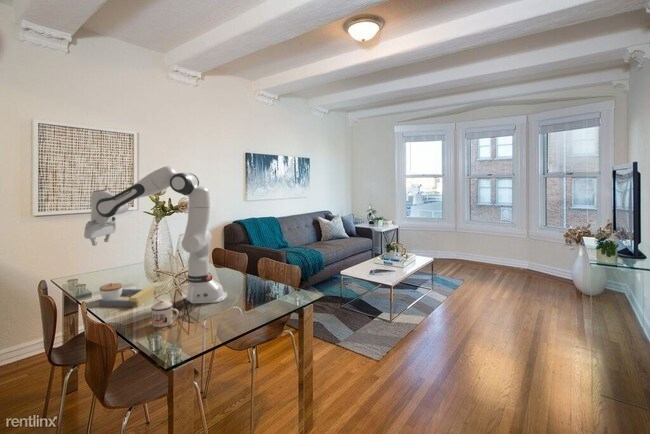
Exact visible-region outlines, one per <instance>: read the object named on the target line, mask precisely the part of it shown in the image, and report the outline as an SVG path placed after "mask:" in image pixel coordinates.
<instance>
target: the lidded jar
mask: <svg viewBox="0 0 650 434" xmlns="http://www.w3.org/2000/svg"><path fill="white" fill-rule="evenodd" d="M122 289H123V284H122V283H120V282H119V283H117V282H112V283H111V282H110V283H108V284H104V285H101V286H100V287H99V294H100V297H101V299H108V300H119V298H120V297H121V296H122V295H121V294H122Z"/></svg>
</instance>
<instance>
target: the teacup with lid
mask: <svg viewBox="0 0 650 434" xmlns="http://www.w3.org/2000/svg"><path fill="white" fill-rule="evenodd" d="M173 307H174V306H173V303H172V302H170V301H166V300H164V299H159V300H158V302H156V303H153V304H152V305H151V308H150V309H151V314H152V315H151V317H152V326H153V327H154V326H155V328H164V327H168V326H170V325H172V324H173V322H174V320H175V319H176V318H178V316H179V313H180V312H179V310H178V309H177V308H173ZM173 311H174V312H175V313H176V314H175V316H173Z"/></svg>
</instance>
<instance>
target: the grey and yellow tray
mask: <svg viewBox="0 0 650 434" xmlns="http://www.w3.org/2000/svg"><path fill="white" fill-rule="evenodd" d="M122 295H123V296H130V297H129V299H118V300H108V299H103V298H101V299H98V306H99V307H100V306H103V307H130V308H132V307H134V308H137V307H139V306H141V305H142V304H144V303H145V302H147V301H148V300H150V299H151V298H153V297H154V295H155V296H156V286H152V285H149V286H147V287H145V288H143V289H142V288H141V289H138V288H122V294H121V296H122ZM149 298H150V299H149ZM146 300H147V301H146ZM143 302H144V303H143ZM140 304H141V305H140Z"/></svg>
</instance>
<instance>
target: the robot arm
mask: <svg viewBox="0 0 650 434" xmlns="http://www.w3.org/2000/svg"><path fill="white" fill-rule="evenodd" d="M168 188H171V189H172V190H173V191H174V192H175V193H178V194H181V195H183V196H187V197H188V209H187V210H188V214H187V222H186V226H185V231H184V236H183V238H182V240H181V247H182V249H183V250H184V251H185V252H186V253H189V255H188V256H189V257H188V259H187V283H188V284H187V293H186V297H185V299H186V301H188V302H189V303H191V304H208V303H209V304H216V303H220V302H222V301H224V300H225V299H227V297H228V292H226V291H224V288H223V285H222V284H221V283H219V282H217V281H216V280H214V279H213V276H214V273H210V265H209V264H210V263H209V259H210V250H211V245H212V244H211V242H212V238H213V235H212V233H211V231H210V230H208V229H207V228H208V225H209V223H210V212H211V211H210V209H211V208H210V207H211V202H210V201H211V200H210V192H209V189H207V187H205V186H201V185H200V180H199V178H198V177H197V176H196V175H195V174H194V173H191V172H190V173H189V172H177V171H176V170H175V169H174V168H173V167H171V166H163V167H160V168H158V169H155V170H154V171H152V172H150V173H149V174H147V175H145V176H144V177H143V178H141V179H139V180H138V181H137V182H135V183H134V184H132V185H131V186H130V187H128V188H125V190H122V191H120V192H118V193H117V194H114V193H112V192H110V190H108V189H100V190H99V189H98V190H94V191H92V192H91V194H90V208H91V212H90V221H87V223H86V224H85V227H84V234H83V237H84V238H85V239H89V240H90V242H91V245H92V246H94V247H96V246H98V241H96V239H97V238H100V237H103V236H105V238H104V239H103V241H104V242H105V243H108V242H110V237H111V235H112V234H114V233H116V230H117V222H116V221H117V217H116V216H118V215H122V214H124V213H126V212H127V211H128V210H129V208H130V204H129V203H131V202H132V201H134V200H136V199H140V198H145V197H151V196H154V195H157V194H159V193H161V192H162V191H165V190H166V189H168Z"/></svg>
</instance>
